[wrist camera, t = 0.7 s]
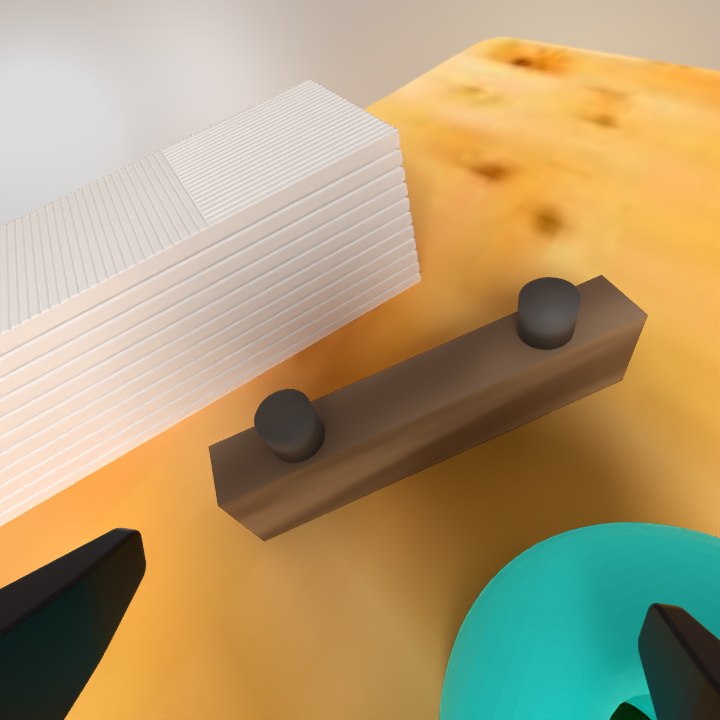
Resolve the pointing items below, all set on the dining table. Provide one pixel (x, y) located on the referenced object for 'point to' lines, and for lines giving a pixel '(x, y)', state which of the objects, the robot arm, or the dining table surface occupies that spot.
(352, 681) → the dining table surface
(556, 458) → the dining table surface
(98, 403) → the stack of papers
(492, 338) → the bar
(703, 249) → the dining table surface
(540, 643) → the donuts
